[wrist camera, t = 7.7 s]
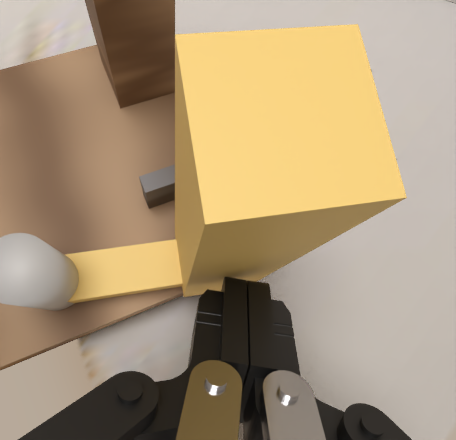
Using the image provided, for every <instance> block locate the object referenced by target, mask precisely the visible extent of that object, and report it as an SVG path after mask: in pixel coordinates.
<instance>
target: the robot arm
mask: <svg viewBox="0 0 456 440" xmlns="http://www.w3.org/2000/svg"><path fill="white" fill-rule="evenodd" d="M239 422H240V423H243V425H244V440H412V439H411V438H410V437H409V436H407V435H406V434H405V433H404V432H403V431H402V430H401V429H400V428H399V427H398V426H397V425H396V424H395V423H394V422H393V421H392V420H391V419H390V418H389V417H387V416H386V415H385V414H384V413H383V412H382V411H380V410H379V409H377V408H375V407H373V406H370V405H367V404H362V403H358V404H353V405H351V406H349V407H348V408H347V409H346V411H345V412H343V411H341V410H338V409H336V408H334V407H332V406H329V405H327V404H325V403H323V402H321V401H319V400H318V399H316V398H315V397H314V393H313V390H312V388H311V387H310V385H309V384H308V383H307V382H306V381H305V380H304V379H303V378H302V377H301V376H300V371H299V364H298V358H297V352H296V346H295V339H294V333H293V328H292V321H291V314H290V312H289V310H288V309H287V308H286V306H285V305H284V303H283V302H282V301H277V300H271V295H270V286H269V284H268V283H261V282H255V281H249V280H247V281H246V280H244V279H237V278H231V277H224V280H223V285H222V289H221V291H215V290H209V289H207V290H206V291H205V292H204V294H203V295H202V296H201V297H200V298H199V303H198V308H197V314H196V319H195V324H194V329H193V335H192V342H191V350H190V357H189V364H188V368H187V370H186V371H185V372H184V373H182V374H181V375H180V376H178V377H176V378H173V379H171V380H166V381H159V382H154V381H153V380H152V379H151V378H150V377H149V376H147V375H145V374H143V373H140V372H136V371H128V372H122V373H119V374H116V375H115V376H113V377H111V378H110V379H108V380H107V381H105V382H104V383H102V384H101V385H99V386H98V387H96V388H95V389H93V390H92V391H90V392H89V393H87V394H86V395H84V396H83V397H81V398H80V399H78V400H77V401H76V402H74V403H72V404H71V405H69V406H68V407H66V408H65V409H63V410H62V411H61V412H59V413H57V414H56V415H54V416H53V417H52V418H50V419H48V420H47V421H45V422H44V423H42V424H41V425H39V426H38V427H36V428H35V429H33V430H32V431H30V432H29V433H27V434H26V435H24V436H23V437H21V438H20V439H18V440H238V432H239Z"/></svg>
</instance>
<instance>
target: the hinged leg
mask: <svg viewBox="0 0 456 440" xmlns="http://www.w3.org/2000/svg"><path fill="white" fill-rule="evenodd" d="M405 198H407V197H406V193H405V190H404V186H403V183H402V179H401V176H400V172H399V168H398V165H397V161H396V158H395V154H394V151H393V147H392V144H391V140H390V136H389V133H388V129H387V126H386V122H385V119H384V115H383V111H382V108H381V104H380V101H379V97H378V94H377V90H376V87H375V83H374V79H373V76H372V72H371V69H370V65H369V62H368V58H367V55H366V51H365V47H364V44H363V40H362V37H361V33H360V30H359V26H358V24H355V25H337V26H319V27H301V28H283V29H265V30H247V31H230V32H212V33H194V34H176V35H175V239H174V240H167V241H160V242H152V243H145V244H138V245H131V246H123V247H116V248H109V249H101V250H94V251H87V252H80V253H72V254H65V255H64V254H62V253H61V252H59V251H58V250H56V249H55V248H53V247H52V246H50V245H49V244H47V243H46V242H44V241H43V240H41V239H39V238H38V237H36V236H34V235H31V234H26V233H13V234H8V235H5V236H3V237H1V238H0V303H2V304H8V305H15V306H23V307H30V308H37V309H45V310H53V311H57V310H63V309H66V308H68V307H70V306H71V305H73V304H74V303H78V302H85V301H91V300H97V299H104V298H110V297H117V296H123V295H129V294H136V293H142V292H149V291H155V290H161V289H168V288H174V287H181V286H182V289H183V297H188V296H194V295H200V294H204V292H205V291H206V290H207V289H209V290H215V291H221V289H222V285H223V280H224V277H231V278H237V279H244V280H246V281H247V280H249V281H255V282H256V281H258V280H260V279H262V278H264V277H265V276H267V275H269V274H271V273H273V272H274V271H276V270H278V269H280V268H281V267H283V266H285V265H287V264H289V263H290V262H292V261H294V260H296V259H298V258H299V257H301V256H303V255H305V254H307V253H308V252H310V251H312V250H314V249H316V248H317V247H319V246H321V245H323V244H324V243H326V242H328V241H330V240H332V239H333V238H335V237H337V236H339V235H341V234H342V233H344V232H346V231H348V230H350V229H351V228H353V227H355V226H357V225H358V224H360V223H362V222H364V221H366V220H367V219H369V218H371V217H373V216H375V215H376V214H378V213H380V212H382V211H384V210H385V209H387V208H389V207H391V206H393V205H394V204H396V203H398V202H400V201H401V200H403V199H405Z"/></svg>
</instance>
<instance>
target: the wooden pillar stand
mask: <svg viewBox="0 0 456 440" xmlns="http://www.w3.org/2000/svg"><path fill="white" fill-rule="evenodd" d="M85 3H86V6H87V10H88V13H89V17H90V21H91V24H92V28H93V32H94V35H95V39H96V43H97V45H94V46H90V47H86V48H83V49H79V50H75V51H71V52H67V53H63V54H60V55H56V56H52V57H48V58H44V59H40V60H37V61H33V62H29V63H25V64H21V65H17V66H14V67H10V68H6V69H2V70H0V238H1V237H3V236H5V235H8V234H13V233H26V234H31V235H34V236H36V237H38V238H39V239H41V240H43V241H44V242H46V243H47V244H49V245H50V246H52V247H53V248H55V249H56V250H58V251H59V252H61V253H62V254H64V255H65V254H72V253H80V252H87V251H94V250H101V249H109V248H116V247H123V246H131V245H138V244H145V243H152V242H160V241H167V240H174V239H175V0H85ZM182 295H183V289H182V286H181V287H174V288H168V289H161V290H155V291H149V292H142V293H136V294H129V295H123V296H117V297H110V298H104V299H97V300H91V301H85V302H78V303H74V304H73V305H71V306H70V307H68V308H66V309H63V310H57V311H53V310H45V309H37V308H30V307H23V306H15V305H8V304H2V303H0V370H2V369H5V368H7V367H10V366H12V365H15V364H17V363H19V362H22V361H24V360H27V359H29V358H31V357H34V356H37V355H39V354H41V353H44V352H46V351H49V350H51V349H54V348H56V347H58V346H61V345H63V344H66V343H68V342H70V341H73V340H75V339H78V338H80V337H83V336H85V335H88V334H90V333H92V332H95V331H97V330H100V329H102V328H105V327H107V326H110V325H112V324H114V323H117V322H119V321H122V320H124V319H127V318H129V317H131V316H134V315H136V314H139V313H141V312H144V311H146V310H148V309H151V308H153V307H156V306H158V305H161V304H163V303H165V302H168V301H170V300H173V299H175V298H178V297H180V296H182Z"/></svg>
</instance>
